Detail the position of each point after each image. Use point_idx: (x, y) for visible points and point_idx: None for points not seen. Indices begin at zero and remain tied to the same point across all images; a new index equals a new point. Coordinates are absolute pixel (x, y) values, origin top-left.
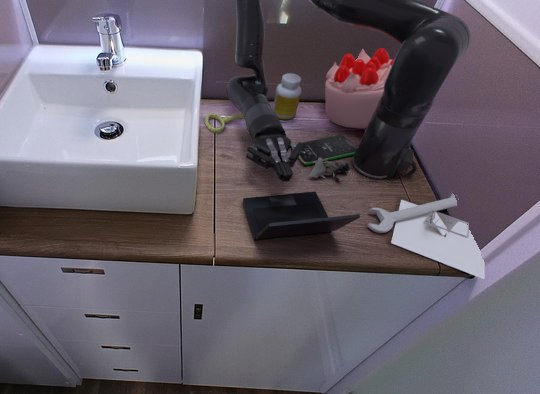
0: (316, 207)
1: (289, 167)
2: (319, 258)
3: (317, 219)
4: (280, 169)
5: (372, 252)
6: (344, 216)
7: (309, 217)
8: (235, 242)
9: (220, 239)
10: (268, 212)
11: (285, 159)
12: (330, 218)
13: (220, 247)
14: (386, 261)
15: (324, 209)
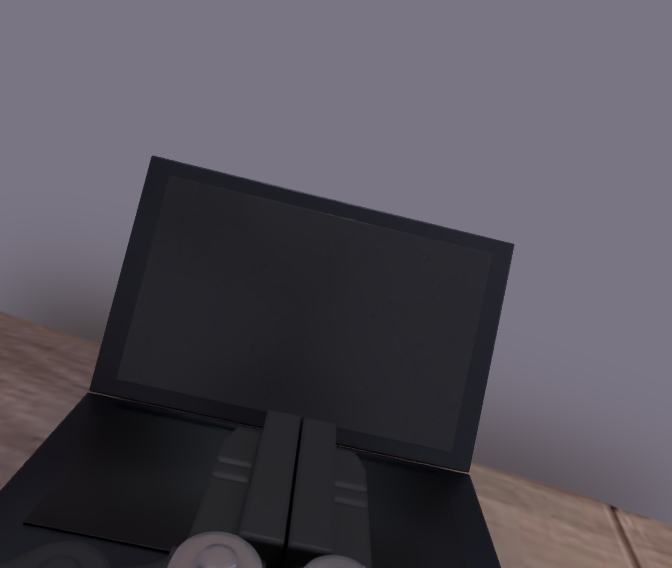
0: (57, 490)
1: (221, 490)
2: None
3: (326, 199)
4: (337, 500)
5: (10, 341)
6: (217, 171)
7: (160, 458)
8: (538, 529)
9: (612, 562)
10: (383, 553)
11: (230, 551)
12: (274, 187)
13: (599, 529)
14: (3, 316)
15: (18, 470)
